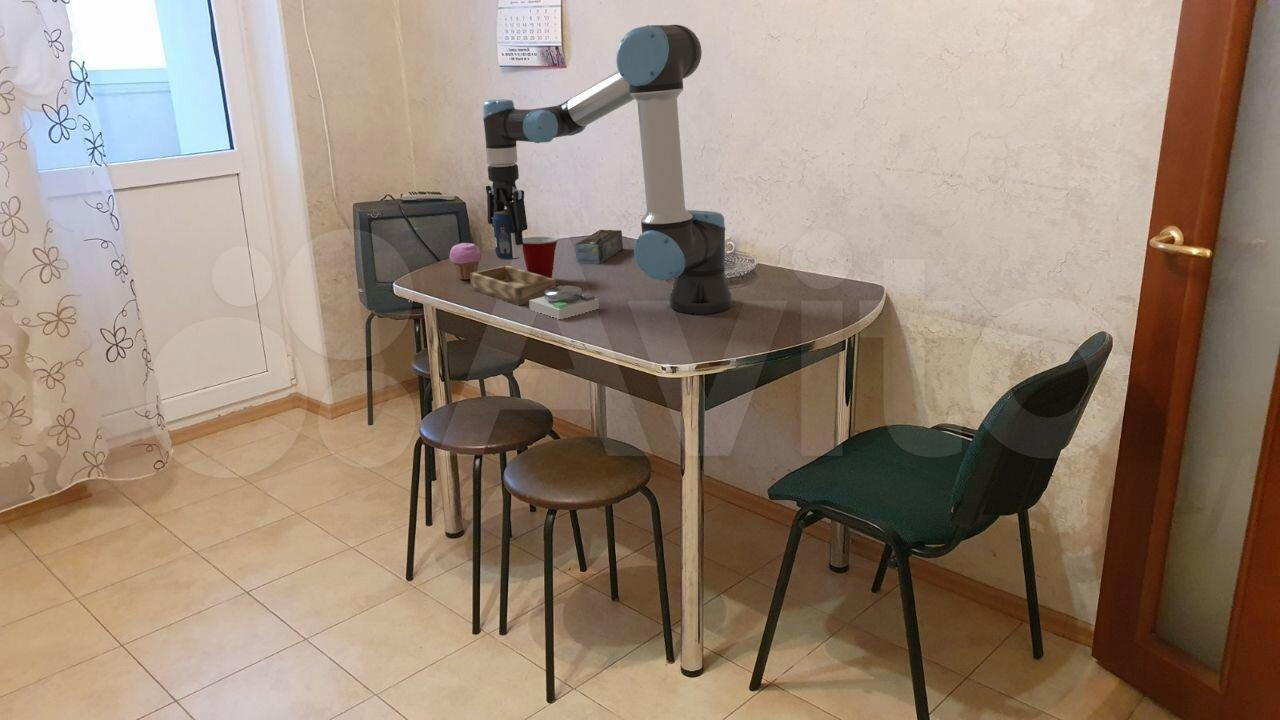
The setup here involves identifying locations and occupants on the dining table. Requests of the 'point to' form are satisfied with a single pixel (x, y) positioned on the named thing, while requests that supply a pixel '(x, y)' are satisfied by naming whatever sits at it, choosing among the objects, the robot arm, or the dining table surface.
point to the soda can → (503, 235)
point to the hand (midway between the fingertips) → (509, 254)
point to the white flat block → (564, 306)
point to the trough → (510, 284)
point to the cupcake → (465, 259)
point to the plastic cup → (539, 254)
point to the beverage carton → (599, 246)
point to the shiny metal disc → (563, 293)
